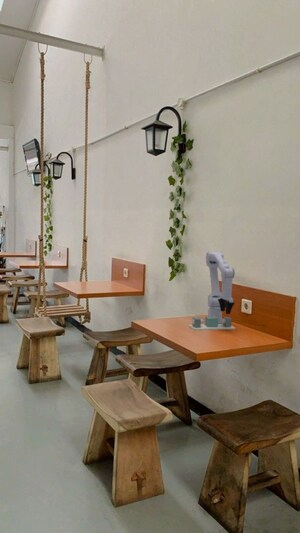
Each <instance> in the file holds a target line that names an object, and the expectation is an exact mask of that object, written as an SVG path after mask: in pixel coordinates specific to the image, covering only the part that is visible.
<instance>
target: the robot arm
mask: <svg viewBox="0 0 300 533" xmlns="http://www.w3.org/2000/svg"><path fill="white" fill-rule="evenodd" d="M224 258H225V257H224V253H223V251H207V252H206V255H205V262H206V266H207V267H208V269H209V275H210V276H209V277H210V284H211V285H210V287H211V293H209V294H208V297H207V306H208V307H209V308H208V310H207V317H216V318H218V324H223V323H220V319H223V312H225V314H226V315H231V312H232V309H233V307H234V306H235V301H234V299H233V296H232V291H233V279H234V278H235V268H233V267H231V266H230V265H229V264H228V262H227V261H225V260H224ZM218 270H219V271H220V277H221V279H220V280H221V289H220V280H219V271H218ZM220 290H221V291H220Z"/></svg>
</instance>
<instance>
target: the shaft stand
mask: <svg viewBox="0 0 300 533" xmlns="http://www.w3.org/2000/svg"><path fill="white" fill-rule="evenodd" d="M232 319H233V318H231V317H229V316H222V319H220V323H223V324H218V327H207V326H205V323H204V322H205V320H204V319H203V318H199V317H197V316H196V317H192V319H191V320H192V324H188V327H189V328H190V329H192V330H193V331H211V330H217V331H218V330H235V329H236V327H235V326H233V325H232V323H233V322H232Z"/></svg>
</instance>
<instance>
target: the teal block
mask: <svg viewBox="0 0 300 533" xmlns="http://www.w3.org/2000/svg"><path fill="white" fill-rule="evenodd" d="M204 322H205V323H204V324H205V326H207V327H218V318H216V317H208V316H205V321H204Z"/></svg>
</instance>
